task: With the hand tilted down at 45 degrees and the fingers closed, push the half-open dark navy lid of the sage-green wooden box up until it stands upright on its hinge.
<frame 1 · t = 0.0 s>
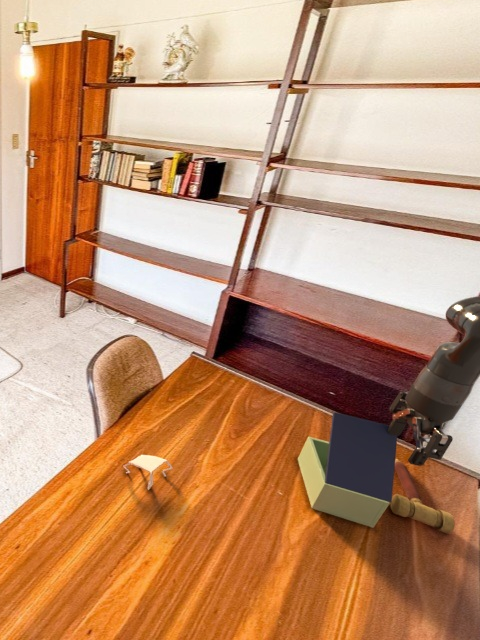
hand: (402, 448, 87), 22 cm above the table, tool pointing down, fingers open, 8 cm apart
miniature stool: (148, 476, 103), on the table
box: (332, 490, 101), on the table
gavel: (406, 492, 102), on the table
lid: (361, 455, 92), point 16 cm above the table, hinge at 52.9°, touching gripper
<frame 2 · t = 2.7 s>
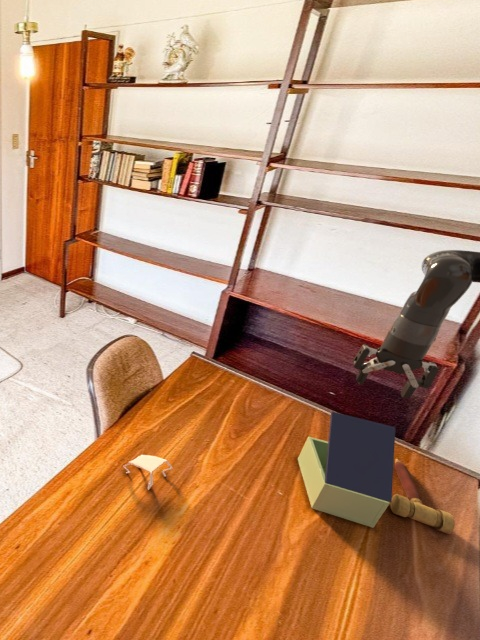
hand: (380, 389, 98), 26 cm above the table, tool pointing down, fingers open, 8 cm apart
lid: (359, 455, 93), point 16 cm above the table, hinge at 49.4°
everything else where it was.
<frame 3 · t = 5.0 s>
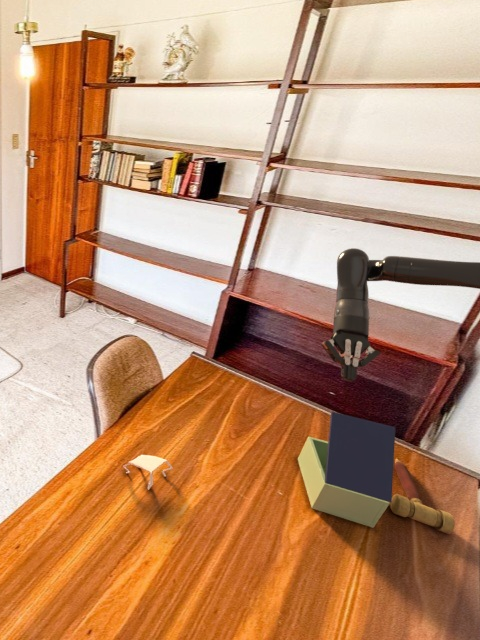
hand: (348, 380, 104), 24 cm above the table, tool tilted 45°, fingers closed
nothing on the table moved.
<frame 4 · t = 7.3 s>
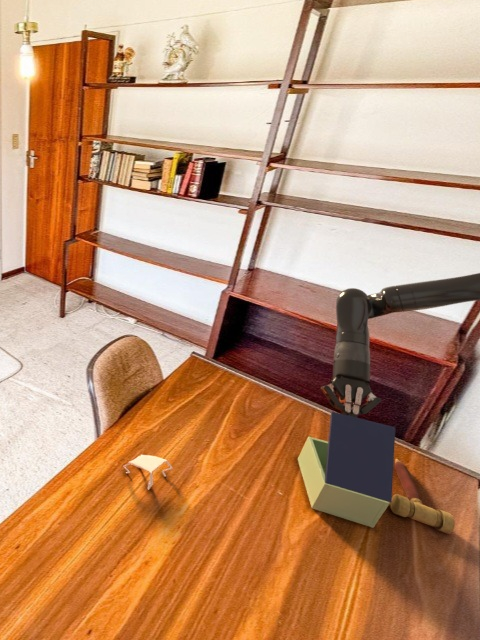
hand: (348, 428, 100), 16 cm above the table, tool tilted 45°, fingers closed
nothing on the table moved.
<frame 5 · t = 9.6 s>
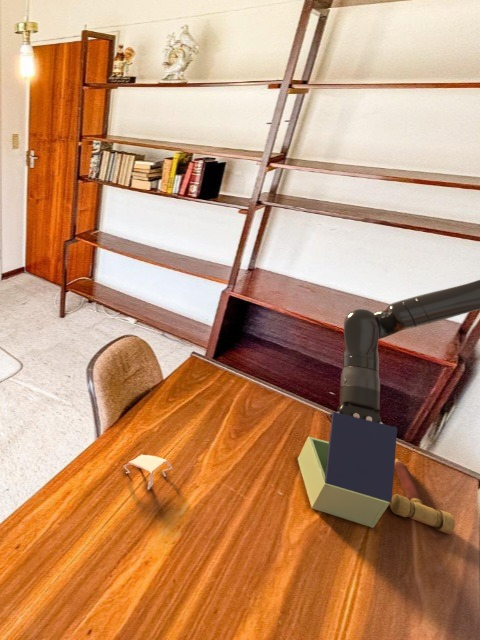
hand: (356, 460, 93), 14 cm above the table, tool tilted 45°, fingers closed
lid: (360, 455, 92), point 16 cm above the table, hinge at 51.8°, touching gripper
everything else where it was.
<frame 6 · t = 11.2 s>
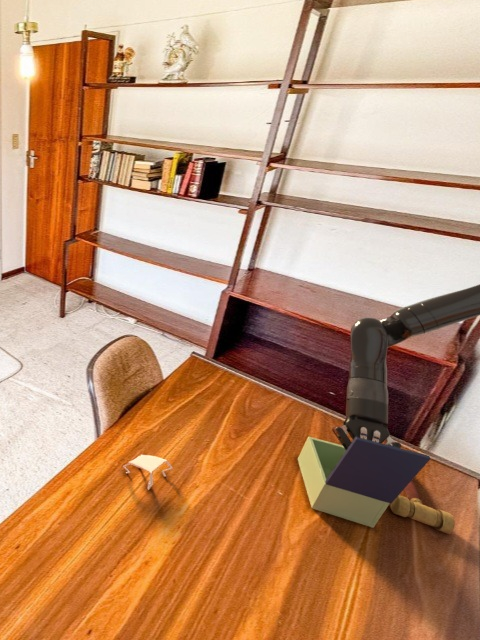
hand: (364, 477, 89), 14 cm above the table, tool tilted 45°, fingers closed
lid: (373, 471, 86), point 17 cm above the table, hinge at 96.4°, touching gripper
everything else where it was.
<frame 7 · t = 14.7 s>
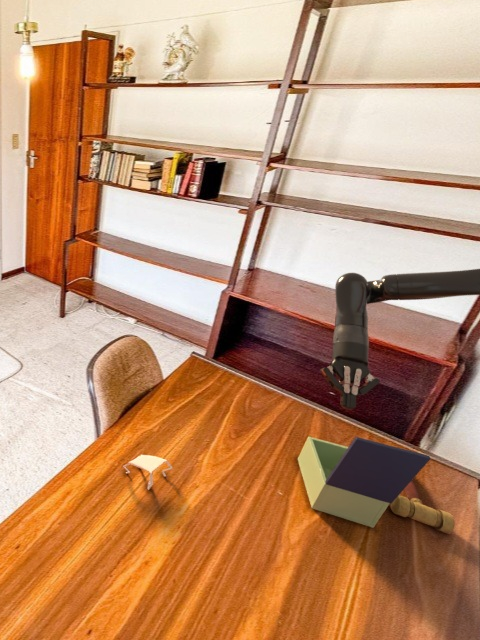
hand: (347, 409, 102), 19 cm above the table, tool tilted 45°, fingers closed
lid: (373, 471, 86), point 17 cm above the table, hinge at 96.5°
everything else where it was.
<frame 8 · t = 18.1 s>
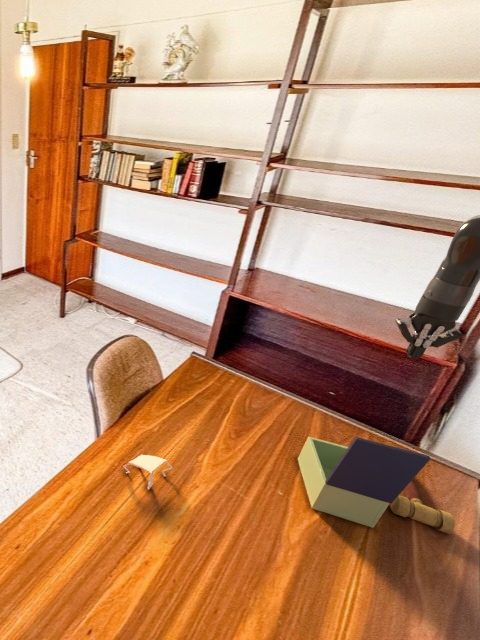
hand: (411, 356, 101), 32 cm above the table, tool pointing down, fingers closed
nothing on the table moved.
at the end: lid at +96° (first picture: +53°) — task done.
